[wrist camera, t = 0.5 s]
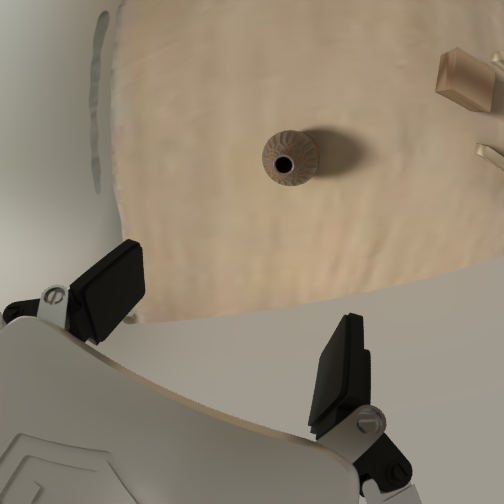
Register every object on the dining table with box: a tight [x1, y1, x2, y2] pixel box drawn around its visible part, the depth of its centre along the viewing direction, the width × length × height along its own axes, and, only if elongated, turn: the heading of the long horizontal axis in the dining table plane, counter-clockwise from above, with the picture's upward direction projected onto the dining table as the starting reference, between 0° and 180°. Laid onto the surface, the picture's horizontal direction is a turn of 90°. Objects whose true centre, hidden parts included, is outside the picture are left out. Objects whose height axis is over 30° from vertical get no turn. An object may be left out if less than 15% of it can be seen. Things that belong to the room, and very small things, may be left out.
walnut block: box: [435, 48, 496, 112], centre depth 20 cm, size 6×6×6 cm
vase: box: [262, 130, 319, 186], centre depth 31 cm, size 7×7×9 cm
